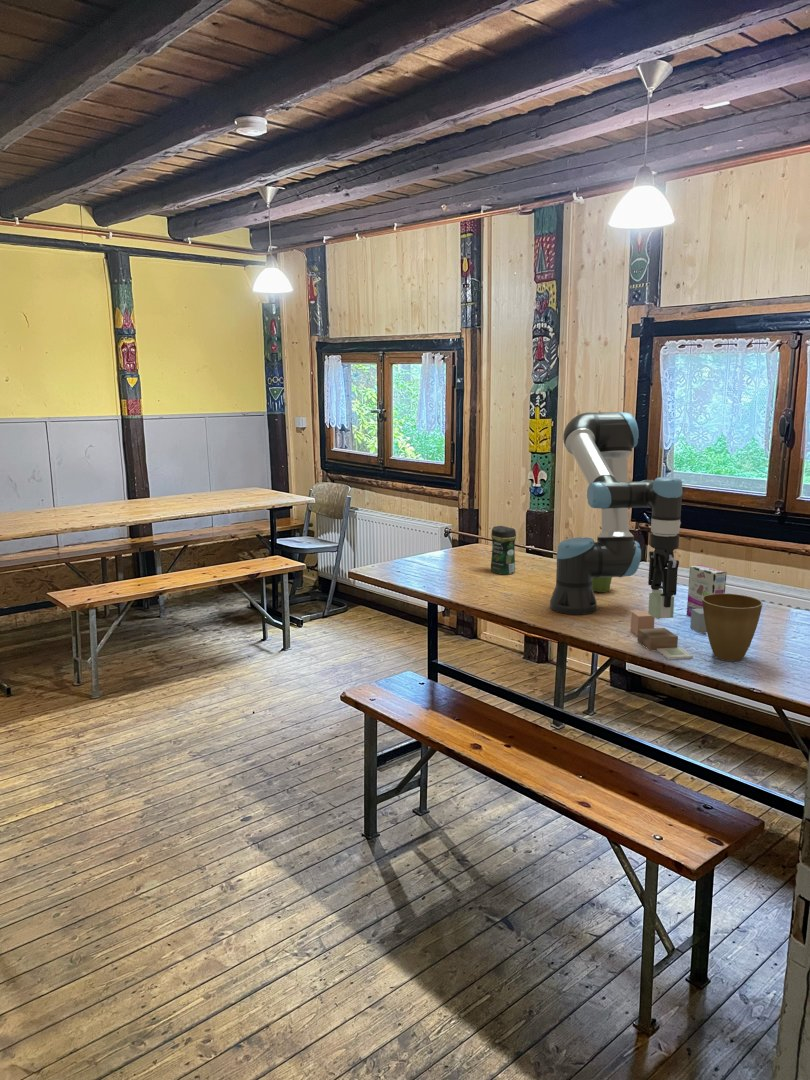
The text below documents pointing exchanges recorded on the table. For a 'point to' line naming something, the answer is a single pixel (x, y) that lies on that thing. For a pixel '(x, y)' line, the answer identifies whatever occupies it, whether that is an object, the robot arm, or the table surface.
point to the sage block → (658, 605)
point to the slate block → (698, 620)
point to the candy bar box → (704, 585)
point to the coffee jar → (503, 550)
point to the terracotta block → (641, 621)
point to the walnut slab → (657, 638)
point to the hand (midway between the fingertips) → (660, 614)
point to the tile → (674, 653)
